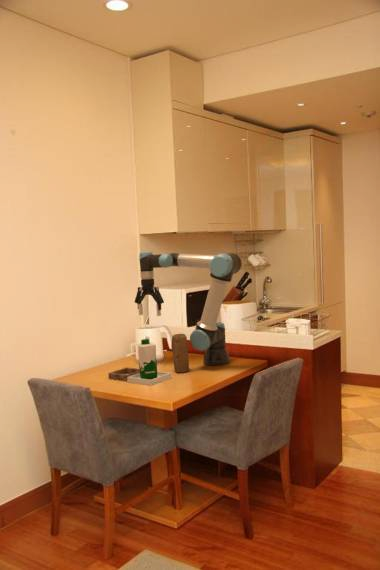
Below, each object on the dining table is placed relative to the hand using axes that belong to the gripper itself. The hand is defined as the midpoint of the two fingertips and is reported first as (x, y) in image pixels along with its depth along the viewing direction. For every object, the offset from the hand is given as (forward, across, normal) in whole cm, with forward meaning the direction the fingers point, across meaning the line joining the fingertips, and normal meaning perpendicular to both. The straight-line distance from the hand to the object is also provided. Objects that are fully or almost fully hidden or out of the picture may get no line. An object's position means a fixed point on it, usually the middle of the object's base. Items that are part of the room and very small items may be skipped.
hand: (149, 315), depth 312 cm
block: (+29, -25, +6) cm, 39 cm away
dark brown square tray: (+29, -6, +28) cm, 41 cm away
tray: (+29, -22, +28) cm, 45 cm away
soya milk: (+28, -21, +28) cm, 45 cm away
